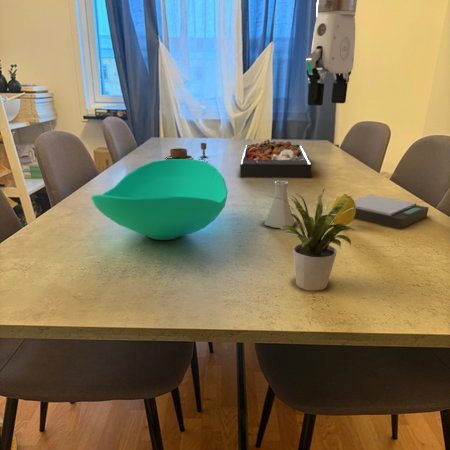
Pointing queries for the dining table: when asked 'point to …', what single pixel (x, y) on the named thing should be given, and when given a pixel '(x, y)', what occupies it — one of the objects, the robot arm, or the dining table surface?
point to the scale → (388, 211)
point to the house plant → (316, 244)
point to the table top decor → (166, 198)
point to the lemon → (348, 215)
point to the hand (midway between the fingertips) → (327, 104)
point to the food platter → (275, 161)
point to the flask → (280, 208)
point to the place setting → (184, 153)
